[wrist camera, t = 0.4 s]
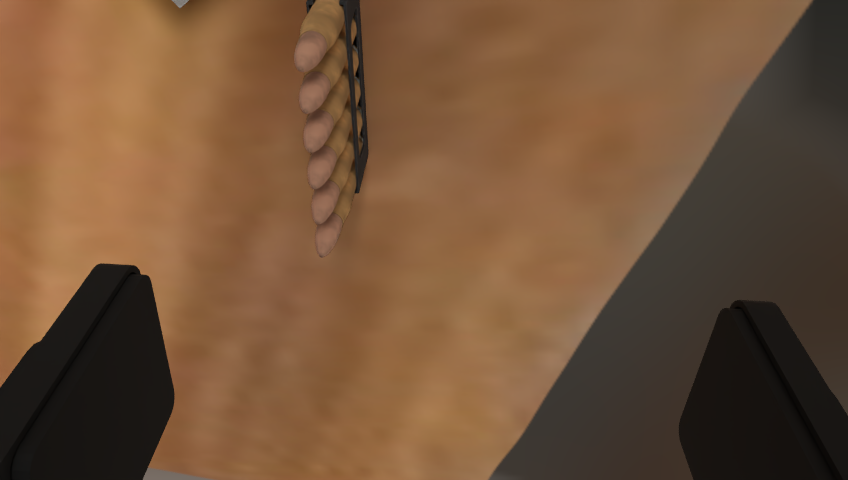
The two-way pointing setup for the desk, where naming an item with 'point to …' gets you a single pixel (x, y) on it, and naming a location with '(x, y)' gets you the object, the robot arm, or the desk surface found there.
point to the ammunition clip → (332, 112)
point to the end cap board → (180, 2)
